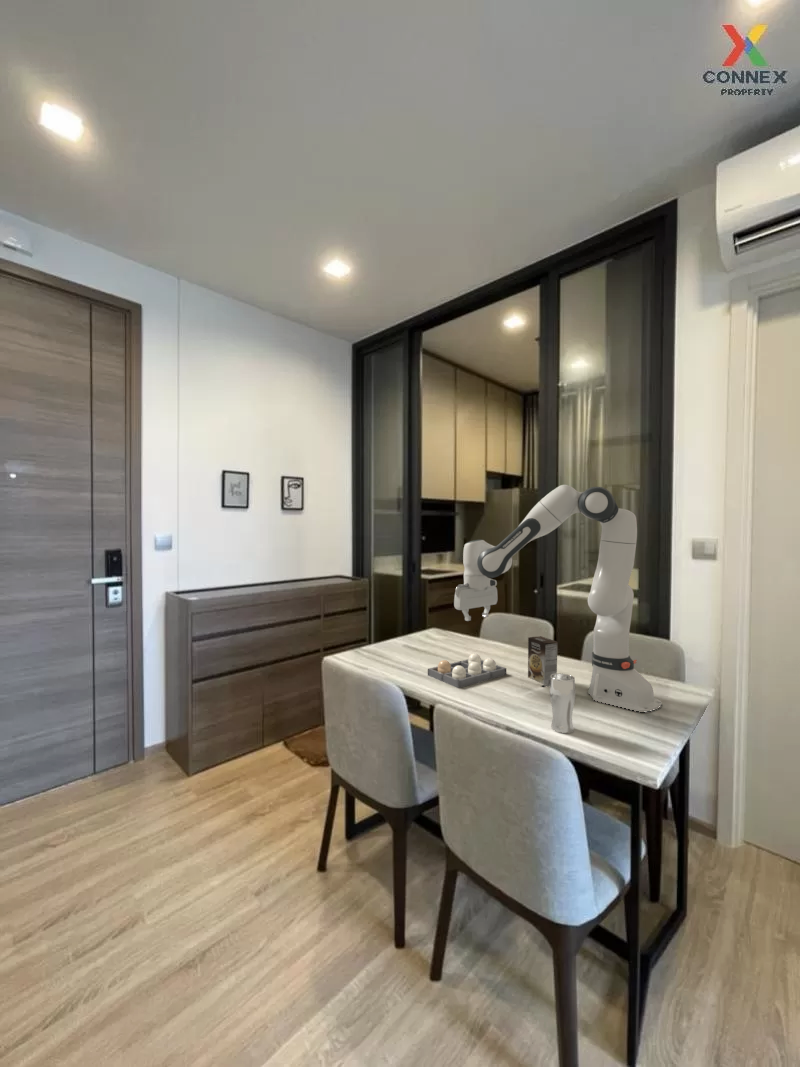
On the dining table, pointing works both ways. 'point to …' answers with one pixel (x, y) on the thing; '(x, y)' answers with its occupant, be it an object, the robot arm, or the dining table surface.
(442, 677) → the egg carton
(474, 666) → the egg front middle
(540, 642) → the coffee box
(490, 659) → the egg front right
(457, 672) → the egg front left
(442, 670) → the brown egg
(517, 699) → the dining table surface
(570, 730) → the beer glass
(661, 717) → the dining table surface
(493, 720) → the dining table surface
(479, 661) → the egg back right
